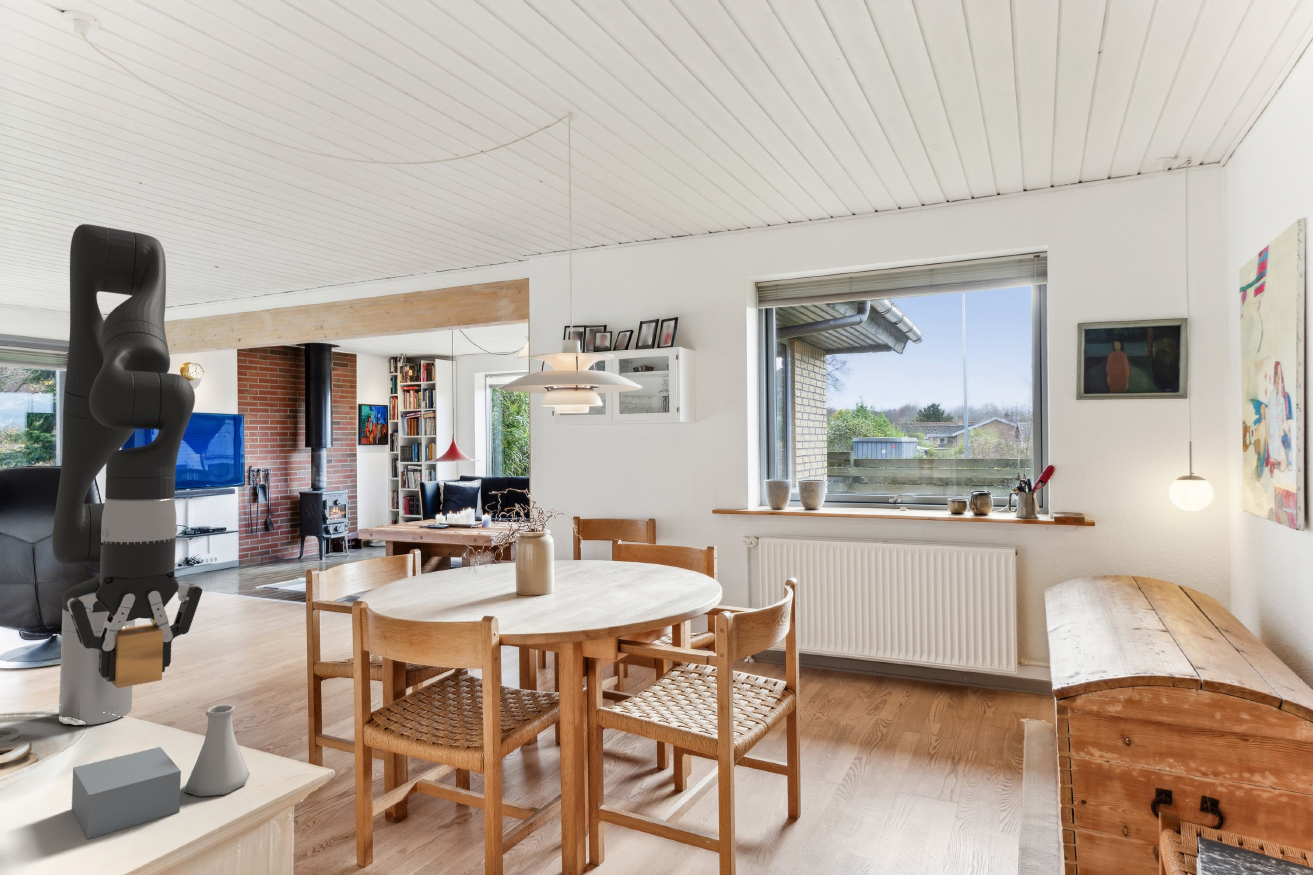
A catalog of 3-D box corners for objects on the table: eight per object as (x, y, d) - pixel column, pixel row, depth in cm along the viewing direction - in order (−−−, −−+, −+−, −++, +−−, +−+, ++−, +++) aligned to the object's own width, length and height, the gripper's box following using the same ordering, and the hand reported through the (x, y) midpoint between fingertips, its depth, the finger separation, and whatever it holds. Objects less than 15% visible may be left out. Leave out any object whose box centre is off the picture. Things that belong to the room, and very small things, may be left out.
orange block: (108, 679, 92) (109, 629, 92) (151, 671, 95) (153, 623, 95) (117, 688, 89) (119, 637, 89) (161, 679, 92) (163, 630, 92)
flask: (228, 799, 95) (232, 720, 94) (171, 796, 95) (174, 717, 95) (260, 773, 102) (263, 699, 102) (207, 770, 102) (210, 697, 102)
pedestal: (71, 808, 91) (73, 767, 91) (158, 785, 97) (160, 746, 97) (87, 839, 85) (88, 794, 85) (179, 811, 91) (180, 770, 91)
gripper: (195, 528, 100) (191, 657, 100) (59, 536, 89) (54, 680, 89) (214, 534, 95) (210, 670, 94) (72, 543, 84) (67, 696, 84)
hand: (134, 674), depth 92 cm, fingers closed on orange block, 4 cm apart
